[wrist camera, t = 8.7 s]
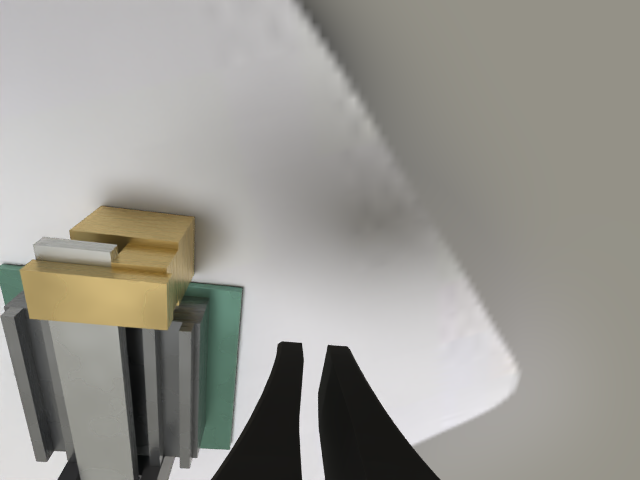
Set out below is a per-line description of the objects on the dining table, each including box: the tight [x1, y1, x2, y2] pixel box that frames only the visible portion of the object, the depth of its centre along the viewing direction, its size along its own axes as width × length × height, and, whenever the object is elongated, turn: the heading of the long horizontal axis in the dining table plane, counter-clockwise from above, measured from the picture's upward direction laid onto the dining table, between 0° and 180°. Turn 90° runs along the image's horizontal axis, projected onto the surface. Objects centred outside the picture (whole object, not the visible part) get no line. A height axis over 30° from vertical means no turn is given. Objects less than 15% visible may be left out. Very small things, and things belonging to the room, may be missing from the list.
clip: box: [20, 206, 195, 330], centre depth 16 cm, size 3×5×5 cm, turn 82°
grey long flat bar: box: [33, 237, 140, 480], centre depth 17 cm, size 15×2×1 cm, turn 171°
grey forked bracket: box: [58, 455, 175, 480], centre depth 21 cm, size 3×5×4 cm, turn 81°
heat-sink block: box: [0, 264, 243, 468], centre depth 19 cm, size 12×11×3 cm
